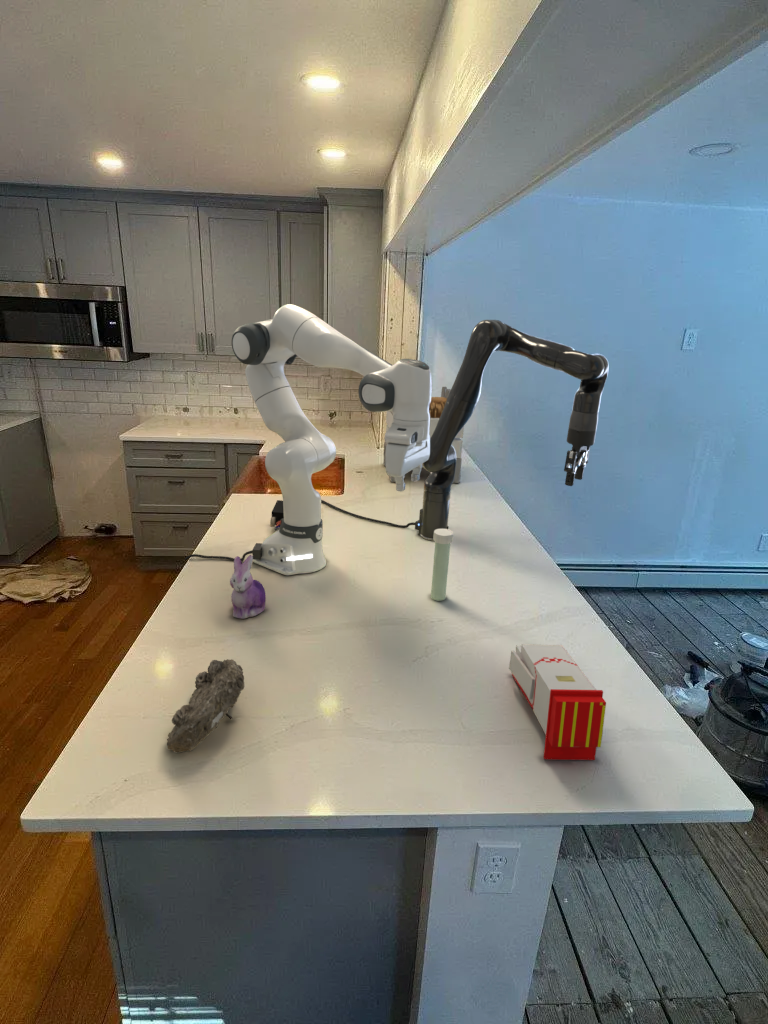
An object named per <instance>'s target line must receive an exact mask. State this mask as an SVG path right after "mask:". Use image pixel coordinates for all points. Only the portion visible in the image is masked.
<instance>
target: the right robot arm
mask: <svg viewBox="0 0 768 1024" xmlns="http://www.w3.org/2000/svg"><path fill="white" fill-rule="evenodd" d="M467 343H468V344H467V347H466V350H465V354H464V357H463V360H462V363H461V364H460V367H459V370H458V372H457V374H456V377H455V379H454V382H453V384H452V386H451V387H450V390H451V391H450V393H449V395H448V398H447V400H446V403H445V406H444V408H443V411H442V413H441V416H440V418H439V421H438V423H437V426H436V428H435V430H434V432H433V434H432V436H431V438H430V456H429V459H428V460H427V461H426V462H424V463H422V464H423V466H422V467H423V468H424V470H425V471H427V472H428V473H429V474H428V476H427V477H426V478H425V480H424V482H423V493H422V496H423V497H422V506H421V508H420V509H419V516H418V520H416V521H414V522H409V523H407V524H405V525H404V524H403V525H402V524H396V523H393V522H389V521H385V520H379V519H375V518H370V517H367V516H362V515H359V514H357V513H353V512H350V511H348V510H345V509H343V508H340V507H338V506H336V505H333V504H331V503H330V502H327V501H325V500H323V499H321V504H325V505H326V506H328V507H330V508H333V509H334V510H336V511H339V512H342V513H344V514H346V515H349V516H352V517H355V518H358V519H362V520H365V521H370V522H373V523H377V524H383V525H387V526H391V527H395V528H400V529H407V528H409V527H410V526H414V530H416V531H417V535H418V536H420V538H421V539H424V540H426V541H432V542H435V541H434V540H433V536H434V531H435V530H436V529H448V530H449V526H448V525H449V517H450V516H449V514H450V504H451V494H452V493H451V491H452V485H453V484H454V483H453V481H454V476H455V468H456V451H455V449H454V447H453V446H452V445H451V444H452V442H453V440H454V438H455V437H456V435H457V434H458V433H459V431H460V430H461V429H462V428H463V426H464V427H465V425H466V424H467V423H468V421H469V420H470V418H471V417H472V415H473V414H474V411H475V409H476V407H477V404H478V402H479V400H480V397H481V392H482V381H483V375H484V371H485V368H486V366H487V364H488V362H489V359H490V358H491V356H492V354H493V353H495V352H505V353H511V354H515V355H518V356H521V357H524V358H526V359H528V360H530V361H531V362H533V363H535V364H538V365H540V366H542V367H545V368H549V369H552V370H555V371H559V372H562V373H564V374H566V375H568V376H571V377H573V378H575V379H577V380H580V383H579V387H578V389H577V390H576V391H575V394H574V397H573V403H572V410H571V414H570V417H569V422H568V429H567V436H566V442H567V444H569V445H571V446H572V447H571V449H570V450H569V449H568V450H567V451H566V456H565V462H564V468H563V471H564V472H565V473H566V475H565V481H564V485H565V486H567V487H573V486H574V483H575V480H579V481H582V480H583V478H584V472H585V468H586V467H587V465H588V463H589V458H590V451H591V447H593V446H594V444H595V441H596V436H597V435H596V434H597V430H598V423H599V412H600V406H601V400H602V394H603V392H604V389H605V385H606V382H607V379H608V375H609V367H610V366H609V361H608V359H607V358H606V356H605V355H603V354H602V353H601V354H600V353H592V354H591V353H587V352H583V351H579V350H576V349H574V348H573V347H572V346H569V345H566V344H563V343H560V342H556V341H552V340H550V339H545V338H542V337H537V336H534V335H531V334H528V333H526V332H523V331H521V330H518V329H517V328H514V326H513V327H512V326H510V325H509V324H507V323H505V322H503V321H501V320H499V319H483V320H481V321H479V322H478V323H476V324H475V326H474V328H473V329H472V331H471V333H470V336H469V340H468V342H467Z"/></svg>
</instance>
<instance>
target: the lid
mask: <svg viewBox="0 0 768 1024" xmlns="http://www.w3.org/2000/svg"><path fill="white" fill-rule="evenodd" d="M433 540H434V541H433V542H434V543H435V542H436V543H440V544H449V543H450V544H452V542H453V541H454V531H452V530H451V529H449V528H448V529H436V530H435V531H434V536H433Z"/></svg>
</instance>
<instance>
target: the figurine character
mask: <svg viewBox="0 0 768 1024" xmlns="http://www.w3.org/2000/svg"><path fill="white" fill-rule="evenodd" d="M283 518H284V510H283V499H282V500H281V499H279V500H276V501H275V504H274V505H273V508H272V510H271V517H270V520H269V521H270V522H269V526H270V527H271V528H272V527H273V528H274V531H275V532H276V531H278V529H279V528H280V525H278V526H276V525H277V524H278V523H277V522H279V521H280V520H281V519H283ZM276 523H277V524H276Z"/></svg>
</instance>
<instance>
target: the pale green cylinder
mask: <svg viewBox="0 0 768 1024" xmlns="http://www.w3.org/2000/svg"><path fill="white" fill-rule="evenodd" d="M450 551H451V543H449V544H440V543H436V542H435V541H434V553H433V564H432V576H431V589H430V598H431V599H432V600H433V601H437V602H438V601H439V602H442V601H444V600H446V597H447V595H446V594H447V585H448V574H449V562H450Z"/></svg>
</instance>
